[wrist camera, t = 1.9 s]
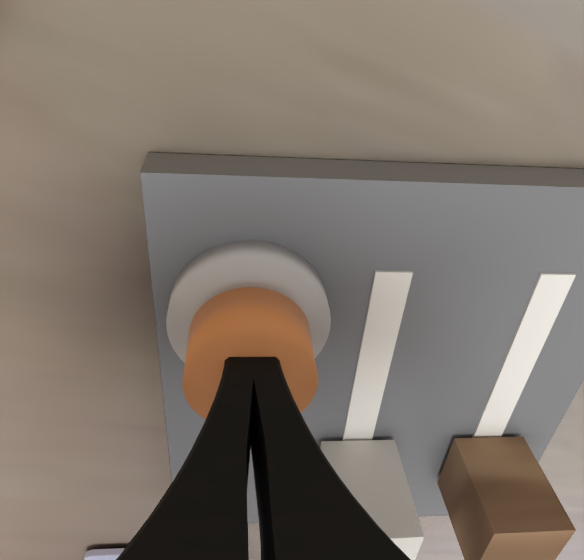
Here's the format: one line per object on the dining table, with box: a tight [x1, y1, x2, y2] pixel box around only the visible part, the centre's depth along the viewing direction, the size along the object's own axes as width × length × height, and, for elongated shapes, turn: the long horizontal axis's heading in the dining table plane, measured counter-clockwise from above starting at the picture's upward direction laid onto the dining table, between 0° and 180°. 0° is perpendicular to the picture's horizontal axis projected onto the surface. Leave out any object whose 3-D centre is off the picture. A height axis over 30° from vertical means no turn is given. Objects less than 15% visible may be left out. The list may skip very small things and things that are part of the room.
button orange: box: [182, 287, 318, 419], centre depth 14 cm, size 4×4×2 cm
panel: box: [140, 152, 584, 523], centre depth 19 cm, size 17×16×2 cm
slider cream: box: [320, 440, 424, 560], centre depth 19 cm, size 3×3×4 cm
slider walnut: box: [437, 437, 576, 560], centre depth 20 cm, size 3×3×4 cm
